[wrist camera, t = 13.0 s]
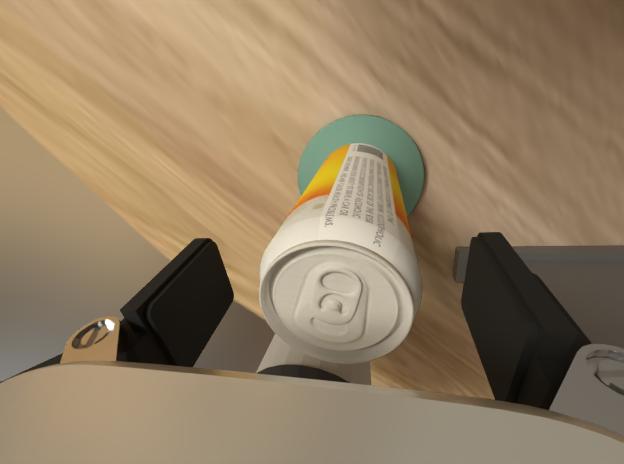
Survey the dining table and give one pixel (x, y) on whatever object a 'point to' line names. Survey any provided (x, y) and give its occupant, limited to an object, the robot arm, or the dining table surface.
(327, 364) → the coffee cup
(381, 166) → the beer can
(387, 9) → the dining table surface
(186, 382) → the robot arm
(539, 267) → the screen
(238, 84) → the dining table surface
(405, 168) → the coaster
